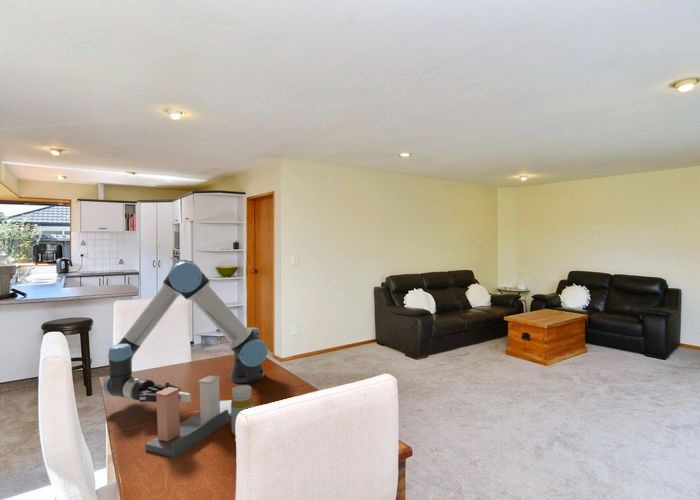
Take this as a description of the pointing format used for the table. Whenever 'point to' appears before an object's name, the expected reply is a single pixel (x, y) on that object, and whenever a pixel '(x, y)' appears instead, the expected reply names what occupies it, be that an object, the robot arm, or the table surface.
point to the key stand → (187, 435)
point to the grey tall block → (209, 398)
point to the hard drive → (225, 406)
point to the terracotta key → (168, 413)
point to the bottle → (240, 401)
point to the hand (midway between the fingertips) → (188, 397)
